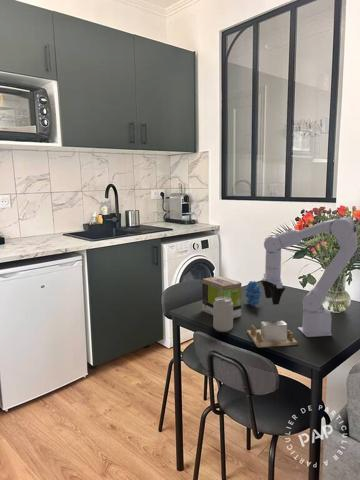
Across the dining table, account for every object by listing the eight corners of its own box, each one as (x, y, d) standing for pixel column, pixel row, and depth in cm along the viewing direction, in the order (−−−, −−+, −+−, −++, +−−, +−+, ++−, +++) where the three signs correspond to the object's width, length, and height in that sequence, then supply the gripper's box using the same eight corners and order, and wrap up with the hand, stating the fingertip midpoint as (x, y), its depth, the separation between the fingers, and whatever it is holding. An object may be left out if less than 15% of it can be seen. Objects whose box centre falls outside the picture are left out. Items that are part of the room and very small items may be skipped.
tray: (283, 330, 134) (283, 321, 133) (297, 344, 122) (297, 335, 122) (247, 332, 132) (247, 323, 132) (257, 347, 121) (257, 337, 120)
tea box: (242, 316, 149) (242, 282, 146) (223, 321, 144) (223, 286, 141) (219, 306, 161) (219, 274, 159) (201, 310, 156) (201, 278, 154)
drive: (282, 336, 126) (283, 320, 125) (286, 341, 123) (287, 324, 122) (260, 338, 125) (261, 321, 124) (264, 342, 122) (264, 325, 121)
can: (209, 328, 136) (209, 298, 135) (221, 323, 142) (221, 294, 140) (224, 334, 131) (224, 303, 129) (236, 328, 136) (237, 298, 135)
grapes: (267, 309, 157) (268, 283, 155) (254, 311, 155) (254, 284, 153) (255, 301, 168) (255, 276, 166) (242, 302, 166) (242, 277, 164)
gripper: (256, 263, 144) (256, 295, 146) (269, 272, 129) (268, 307, 132) (273, 262, 144) (272, 294, 147) (288, 271, 130) (287, 306, 132)
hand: (272, 300), depth 139 cm, fingers open, 7 cm apart
